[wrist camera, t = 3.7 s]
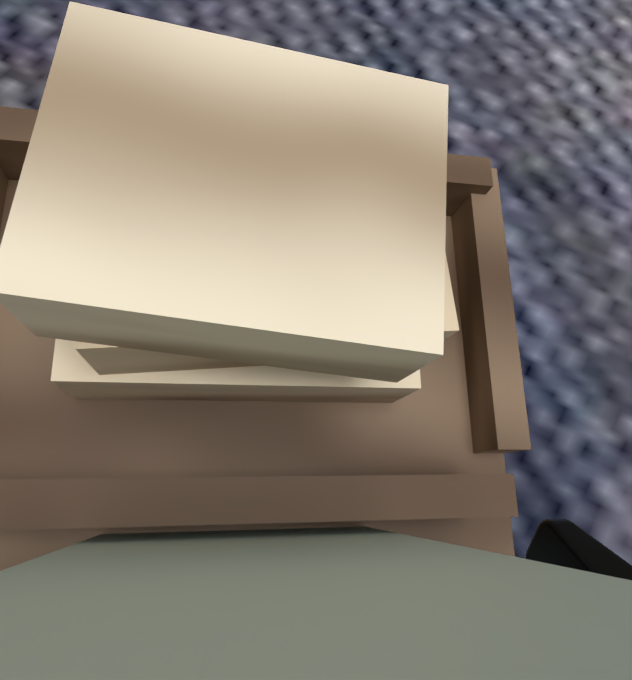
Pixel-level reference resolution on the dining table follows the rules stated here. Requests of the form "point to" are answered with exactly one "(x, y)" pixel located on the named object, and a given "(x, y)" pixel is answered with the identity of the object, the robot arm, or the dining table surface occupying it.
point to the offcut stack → (229, 220)
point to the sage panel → (306, 610)
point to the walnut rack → (276, 425)
